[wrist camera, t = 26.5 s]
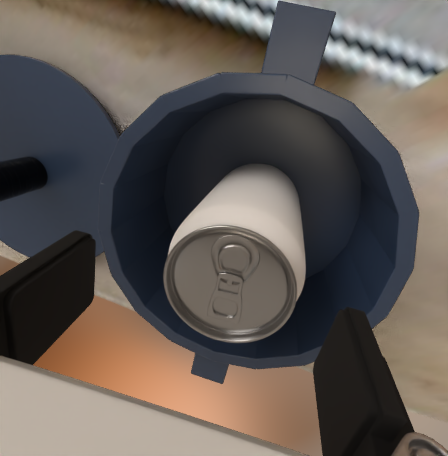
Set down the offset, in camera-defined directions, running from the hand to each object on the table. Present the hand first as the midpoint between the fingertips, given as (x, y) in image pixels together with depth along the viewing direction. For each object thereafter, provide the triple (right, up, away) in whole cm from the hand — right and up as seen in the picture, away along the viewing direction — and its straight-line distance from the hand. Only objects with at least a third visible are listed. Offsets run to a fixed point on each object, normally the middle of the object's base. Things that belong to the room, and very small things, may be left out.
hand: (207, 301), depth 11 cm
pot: (+3, +5, +13) cm, 14 cm away
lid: (-16, +8, +15) cm, 23 cm away
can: (+3, +5, +12) cm, 14 cm away
